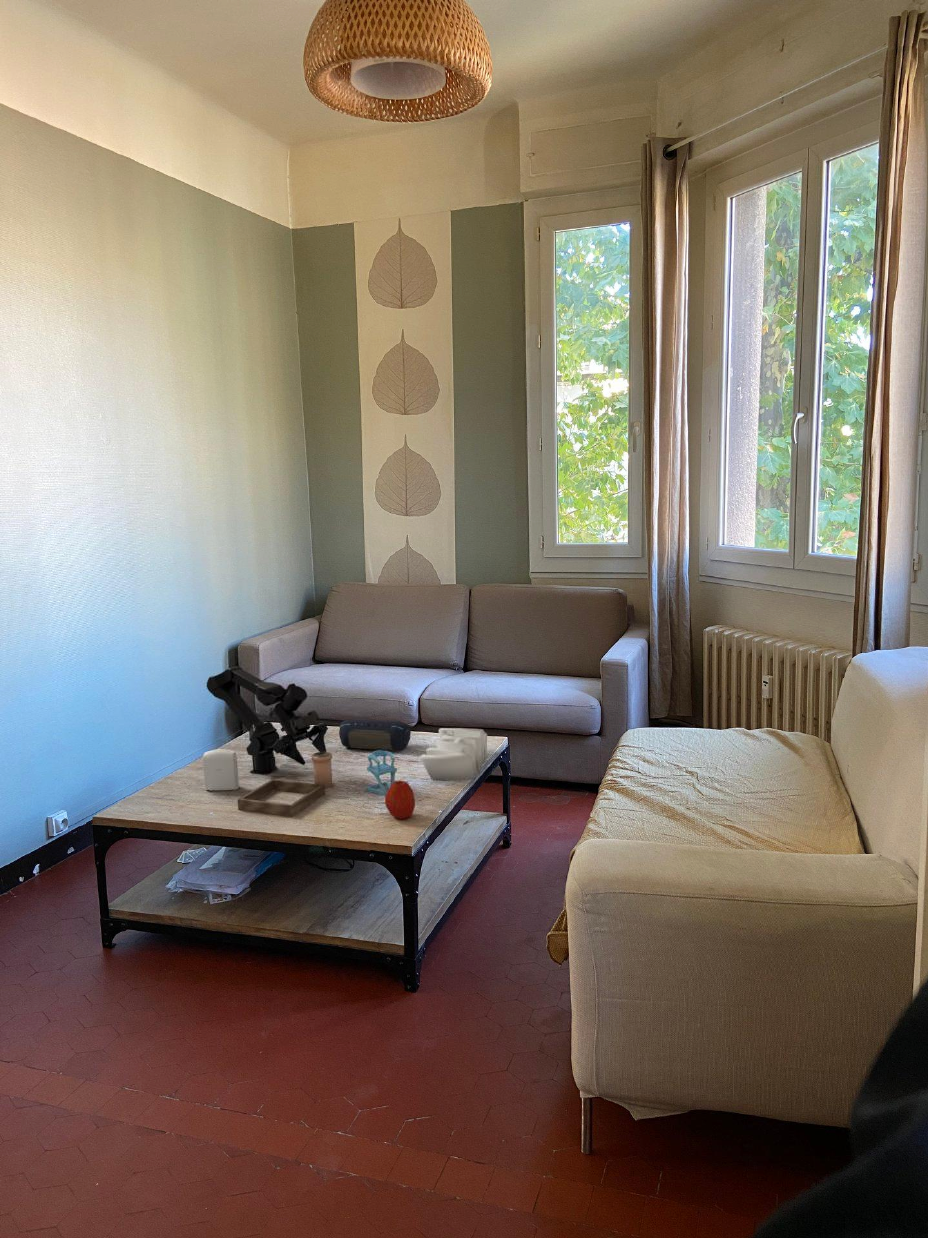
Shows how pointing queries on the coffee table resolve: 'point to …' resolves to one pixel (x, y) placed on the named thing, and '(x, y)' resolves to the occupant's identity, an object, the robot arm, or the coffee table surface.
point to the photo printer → (220, 770)
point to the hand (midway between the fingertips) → (315, 760)
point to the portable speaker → (374, 734)
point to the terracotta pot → (322, 768)
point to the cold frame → (252, 804)
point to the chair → (381, 771)
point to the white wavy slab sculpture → (456, 754)
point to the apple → (400, 800)
